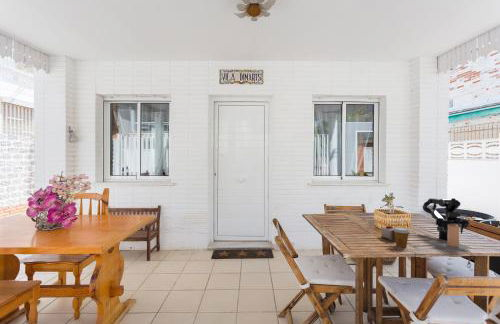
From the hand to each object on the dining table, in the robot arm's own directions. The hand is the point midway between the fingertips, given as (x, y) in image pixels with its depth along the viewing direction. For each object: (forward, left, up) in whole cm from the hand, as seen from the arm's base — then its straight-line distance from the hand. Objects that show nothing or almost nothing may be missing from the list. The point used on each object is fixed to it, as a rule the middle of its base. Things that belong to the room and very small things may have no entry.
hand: (453, 232), depth 199 cm
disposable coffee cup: (-23, -26, -10) cm, 36 cm away
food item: (-37, -15, -10) cm, 41 cm away
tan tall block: (-1, +1, -9) cm, 9 cm away
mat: (-4, -1, -10) cm, 10 cm away
